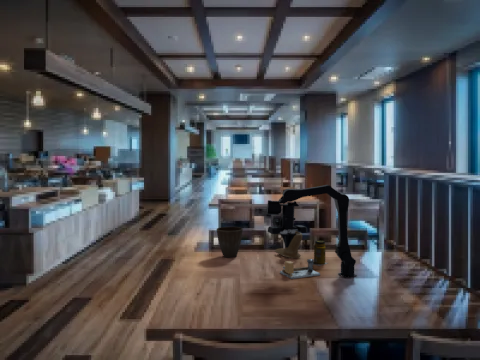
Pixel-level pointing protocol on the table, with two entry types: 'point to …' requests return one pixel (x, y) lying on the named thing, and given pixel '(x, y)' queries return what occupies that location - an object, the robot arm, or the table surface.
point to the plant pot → (229, 240)
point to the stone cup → (291, 247)
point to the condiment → (319, 253)
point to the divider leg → (289, 267)
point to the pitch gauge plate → (302, 271)
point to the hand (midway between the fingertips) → (286, 247)
